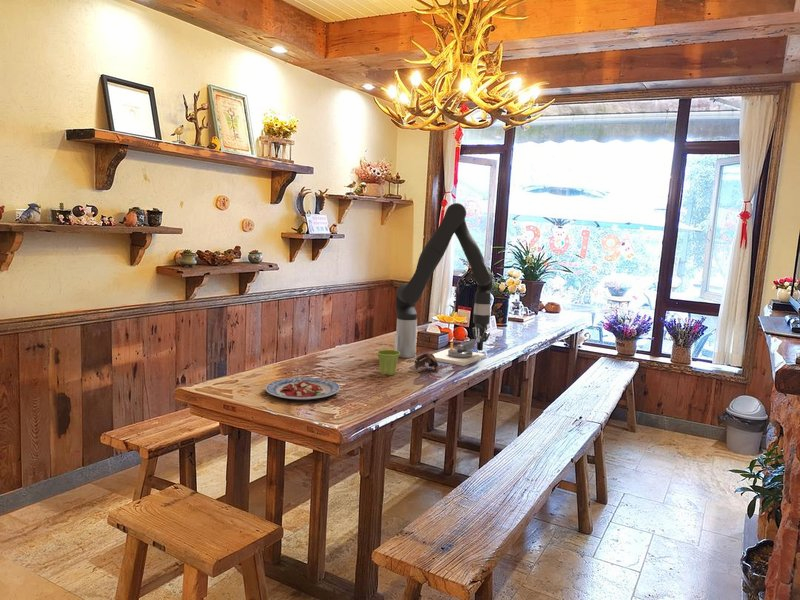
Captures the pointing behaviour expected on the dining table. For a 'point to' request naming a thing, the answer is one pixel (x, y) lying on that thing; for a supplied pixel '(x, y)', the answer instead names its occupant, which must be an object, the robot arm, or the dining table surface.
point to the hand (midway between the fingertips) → (479, 350)
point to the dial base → (444, 357)
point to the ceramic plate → (302, 388)
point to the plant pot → (388, 361)
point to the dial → (462, 350)
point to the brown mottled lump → (429, 359)
